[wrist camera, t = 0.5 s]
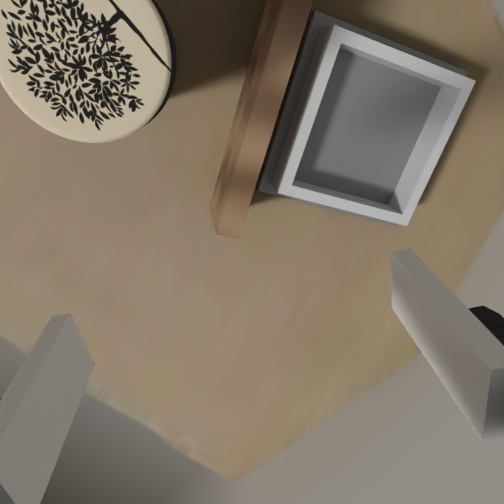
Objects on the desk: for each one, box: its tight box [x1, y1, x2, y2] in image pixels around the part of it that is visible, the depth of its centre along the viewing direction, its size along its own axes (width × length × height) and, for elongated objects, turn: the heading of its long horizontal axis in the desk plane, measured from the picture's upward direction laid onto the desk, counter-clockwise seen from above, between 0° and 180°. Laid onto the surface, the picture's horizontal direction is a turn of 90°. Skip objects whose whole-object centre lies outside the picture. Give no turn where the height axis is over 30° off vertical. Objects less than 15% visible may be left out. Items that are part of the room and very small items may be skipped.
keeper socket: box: [256, 10, 476, 226], centre depth 38 cm, size 16×16×4 cm
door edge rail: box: [210, 0, 314, 239], centre depth 33 cm, size 22×2×7 cm, turn 163°
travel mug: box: [0, 0, 176, 143], centre depth 25 cm, size 8×8×18 cm
